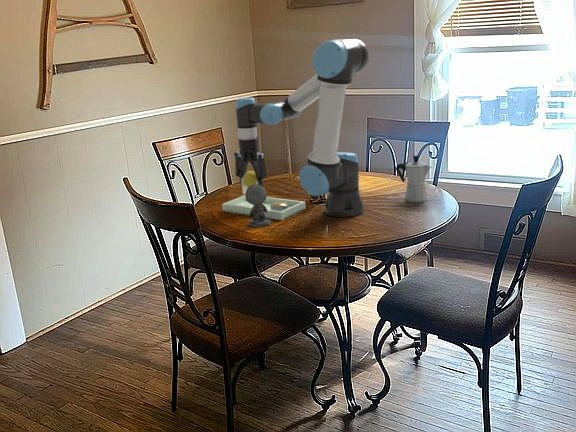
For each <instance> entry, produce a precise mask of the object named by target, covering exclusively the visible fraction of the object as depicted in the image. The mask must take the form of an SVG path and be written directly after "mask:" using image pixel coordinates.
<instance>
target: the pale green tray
mask: <svg viewBox="0 0 576 432" xmlns="http://www.w3.org/2000/svg"><path fill="white" fill-rule="evenodd" d="M274 202H286V203H288V209H286V210H283V211H273V210H271V208H270V205H271V204H272V203H274ZM262 204H263V205H264V206H265V207H266V208H267V212H264V213H265V218H266V219H270V220H271V219H272V220H277V221H278V220H279V221H283V220H285V219H287V218H290V217H292V216H294V215H297V214H298V213H300V212H303V211H304V210H306V209H307V207H306V201H301V200H294V199H286V198H280V197H279V198H278V197H269V196H267V197H266V200H265V201H264V202H263V203H262ZM221 206H222V207H221V208H222V212H224V211H225V212H226V213H232V214H240V215H244V214H245V215H244V216H250V212H251V209H252V207H253V206H254V205H252V204H250V203H248V201H247V200H246V194H243V195H242V196H239V197H237V198H235V199H231V200H229V201H227V202H223V203H222V204H221ZM225 212H224V213H225Z"/></svg>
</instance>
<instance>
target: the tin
mask: <svg viewBox="0 0 576 432" xmlns="http://www.w3.org/2000/svg"><path fill="white" fill-rule="evenodd" d="M270 208H271V210H273V211H283V210H286V209H288V203H286V202H274V203H272V204H271V205H270Z"/></svg>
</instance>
